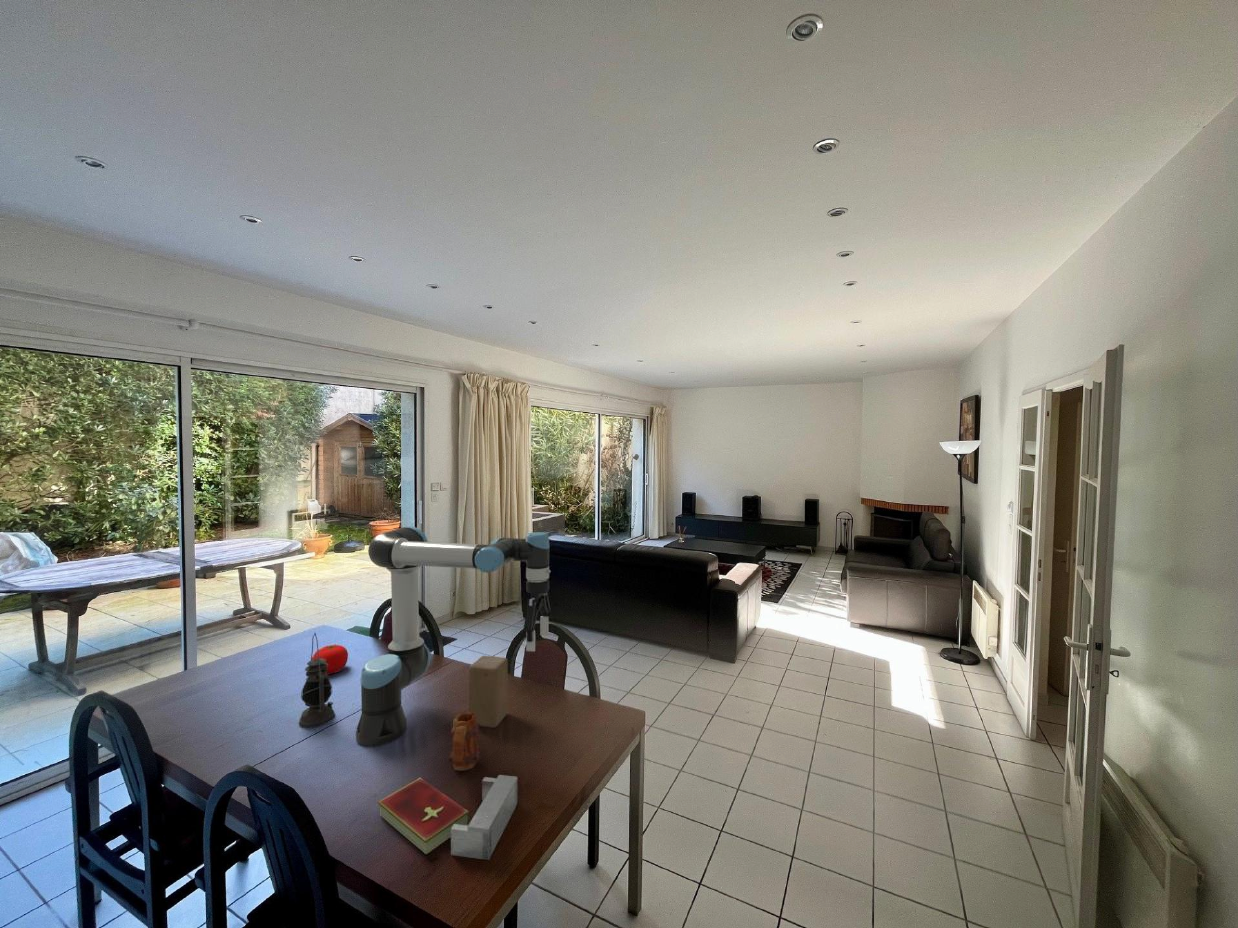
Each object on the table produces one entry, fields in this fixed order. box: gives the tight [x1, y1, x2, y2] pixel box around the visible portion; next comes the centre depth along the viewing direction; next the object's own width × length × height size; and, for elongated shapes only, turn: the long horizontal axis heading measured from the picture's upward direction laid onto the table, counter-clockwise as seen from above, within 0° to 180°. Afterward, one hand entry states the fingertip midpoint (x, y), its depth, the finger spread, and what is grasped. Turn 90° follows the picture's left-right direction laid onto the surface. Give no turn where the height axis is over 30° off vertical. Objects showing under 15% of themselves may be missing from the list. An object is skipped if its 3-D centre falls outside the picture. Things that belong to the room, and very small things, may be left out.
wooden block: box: [468, 655, 509, 728], centre depth 168 cm, size 10×10×20 cm
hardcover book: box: [377, 777, 471, 855], centre depth 122 cm, size 12×21×4 cm, turn 53°
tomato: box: [312, 643, 349, 675], centre depth 205 cm, size 14×13×10 cm
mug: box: [448, 711, 482, 771], centre depth 141 cm, size 15×8×15 cm, turn 5°
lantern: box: [298, 632, 336, 729], centre depth 168 cm, size 12×11×30 cm
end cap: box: [450, 774, 519, 861], centre depth 120 cm, size 9×18×7 cm, turn 171°
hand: (537, 642), depth 164 cm, fingers open, 13 cm apart
